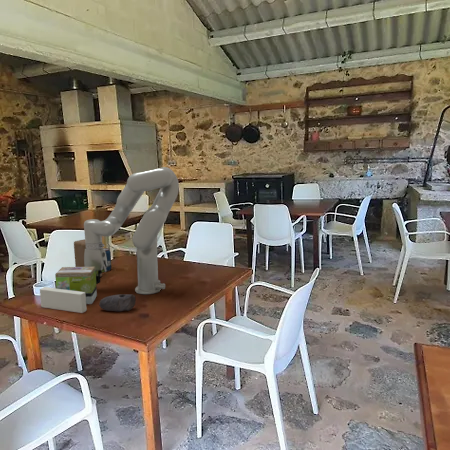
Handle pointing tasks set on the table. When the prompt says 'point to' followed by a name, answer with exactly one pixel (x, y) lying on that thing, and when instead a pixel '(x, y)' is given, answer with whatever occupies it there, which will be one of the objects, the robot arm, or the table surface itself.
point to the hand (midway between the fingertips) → (97, 283)
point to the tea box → (78, 281)
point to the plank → (63, 299)
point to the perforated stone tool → (118, 302)
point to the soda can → (108, 258)
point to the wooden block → (80, 253)
